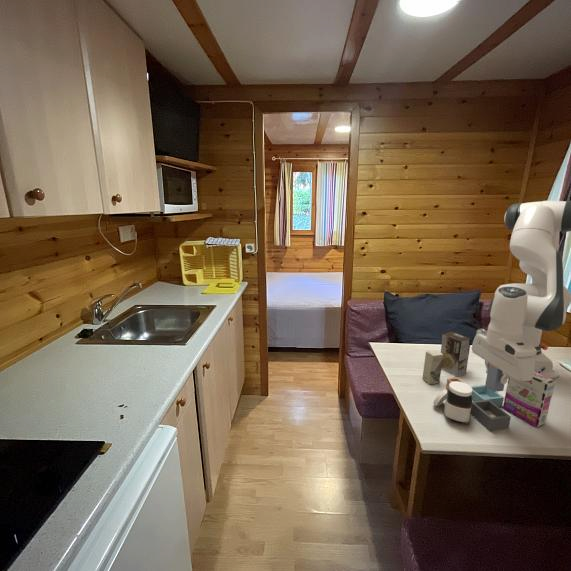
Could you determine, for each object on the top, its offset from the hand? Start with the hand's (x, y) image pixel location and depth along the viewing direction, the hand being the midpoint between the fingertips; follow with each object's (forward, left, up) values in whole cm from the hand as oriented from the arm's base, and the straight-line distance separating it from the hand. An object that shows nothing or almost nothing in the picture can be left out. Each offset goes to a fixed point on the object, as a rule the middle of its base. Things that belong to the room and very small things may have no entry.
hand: (495, 378), depth 100 cm
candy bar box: (-14, 0, -16) cm, 21 cm away
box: (+4, -25, -16) cm, 30 cm away
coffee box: (-10, -31, -16) cm, 36 cm away
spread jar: (+10, -6, -16) cm, 20 cm away
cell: (0, 0, -4) cm, 4 cm away
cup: (0, -16, -16) cm, 23 cm away
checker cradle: (0, 0, -16) cm, 16 cm away
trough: (-7, -10, -16) cm, 20 cm away
